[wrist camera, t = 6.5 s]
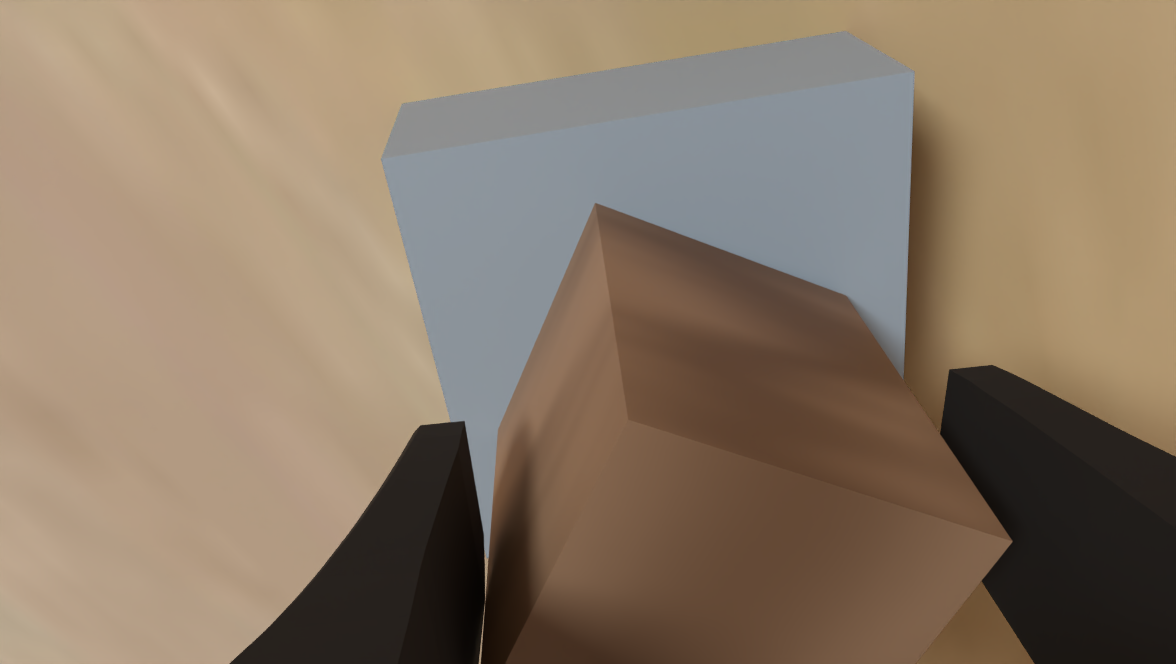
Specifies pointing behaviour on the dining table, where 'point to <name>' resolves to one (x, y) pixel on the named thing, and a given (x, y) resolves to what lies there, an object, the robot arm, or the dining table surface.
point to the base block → (649, 194)
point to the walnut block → (719, 474)
